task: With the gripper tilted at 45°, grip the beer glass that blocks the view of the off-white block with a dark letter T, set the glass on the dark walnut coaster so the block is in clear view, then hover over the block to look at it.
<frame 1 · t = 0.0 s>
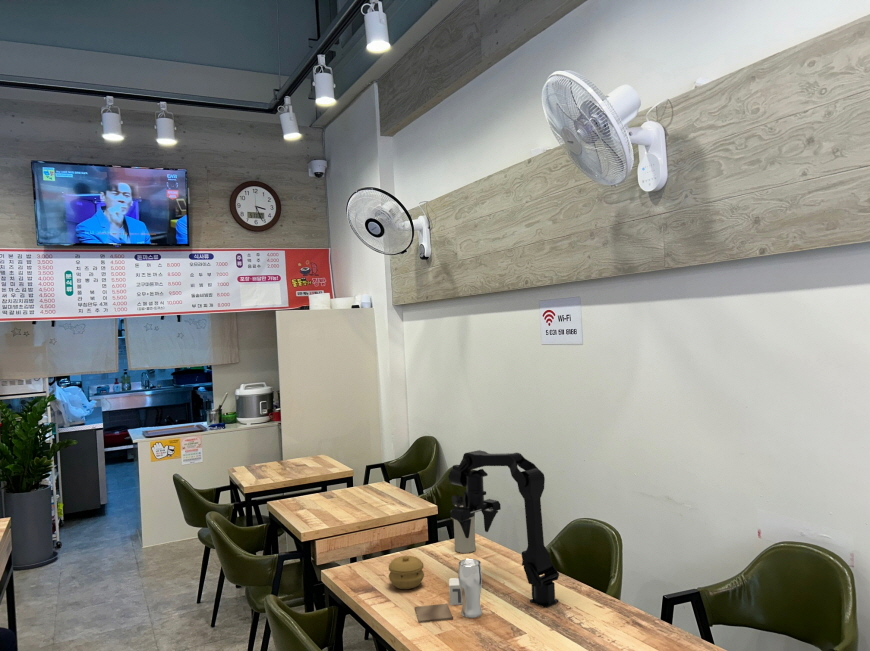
hand: (476, 534, 219), 15 cm above the table, tool pointing down, fingers open, 9 cm apart
beer glass: (471, 614, 191), on the table
coaster: (433, 613, 192), on the table
letter block: (459, 601, 201), on the table
pot: (406, 586, 215), on the table
travel mug: (465, 550, 248), on the table
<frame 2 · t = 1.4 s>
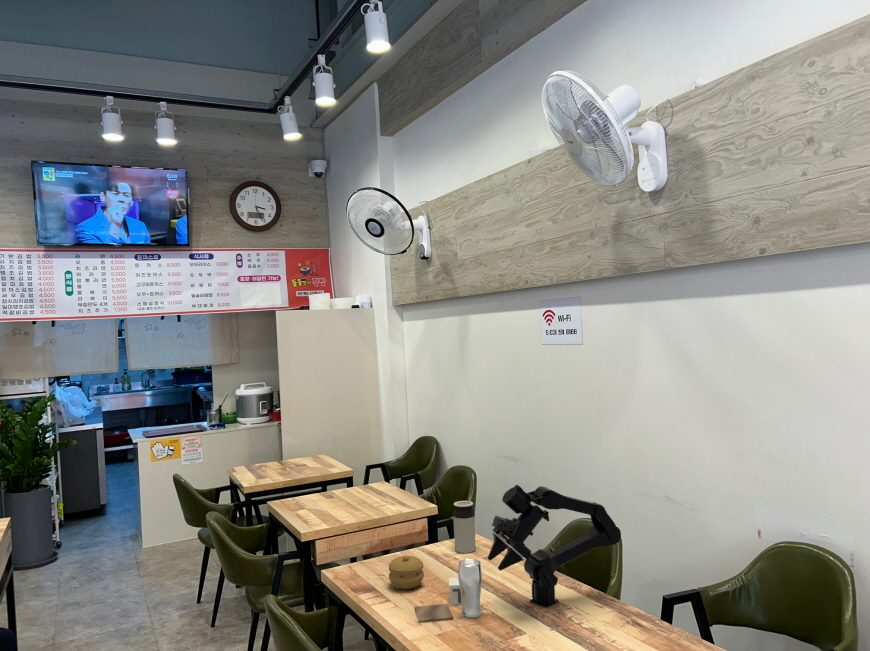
hand: (493, 564, 193), 13 cm above the table, tool tilted 45°, fingers open, 9 cm apart
nothing on the table moved.
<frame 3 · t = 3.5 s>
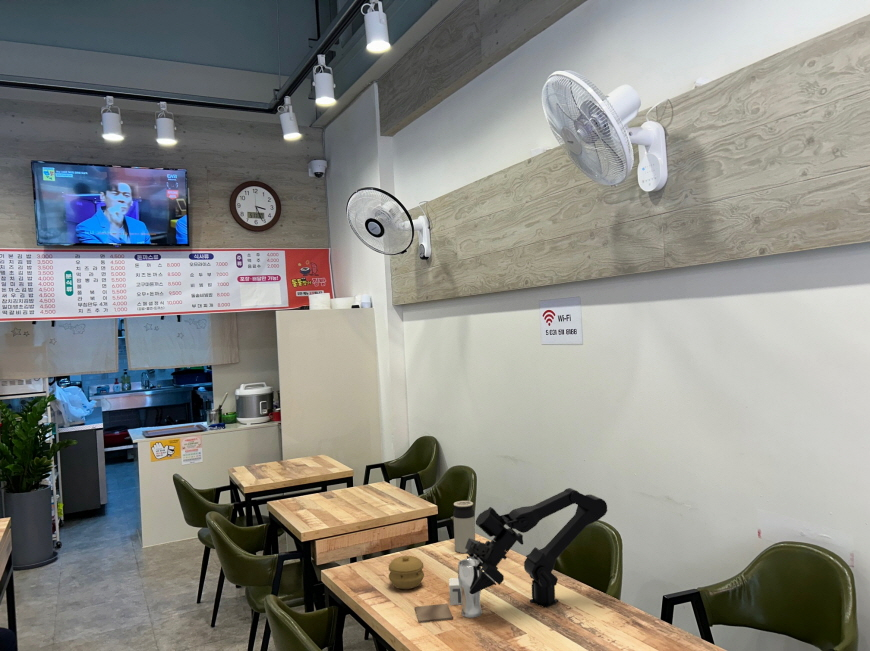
hand: (466, 588, 191), 8 cm above the table, tool tilted 45°, fingers open, 8 cm apart
nothing on the table moved.
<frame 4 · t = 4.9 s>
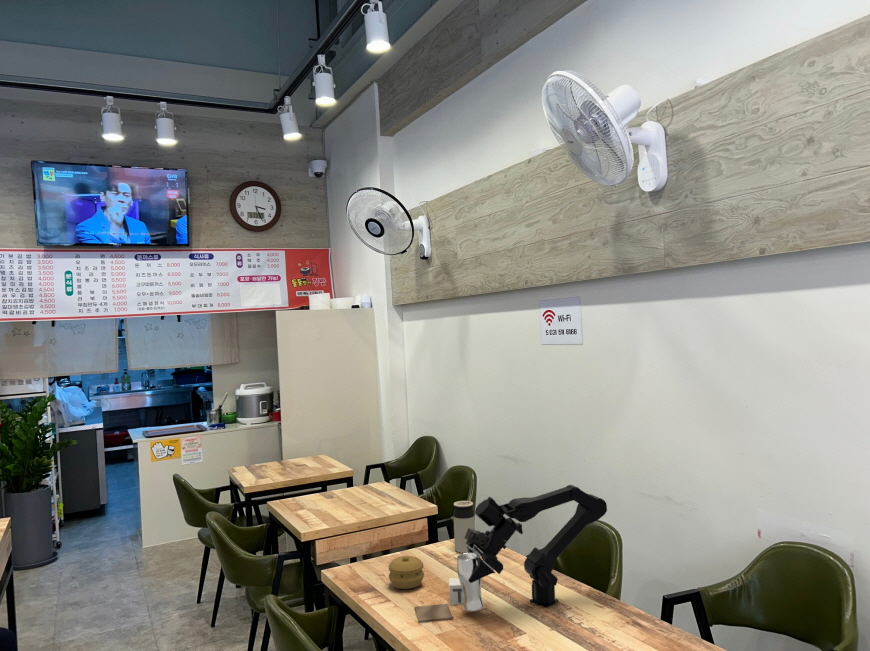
hand: (465, 577, 191), 11 cm above the table, tool tilted 45°, fingers closed on beer glass, 7 cm apart
beer glass: (473, 608, 191), point 2 cm above the table, touching gripper
everything else where it was.
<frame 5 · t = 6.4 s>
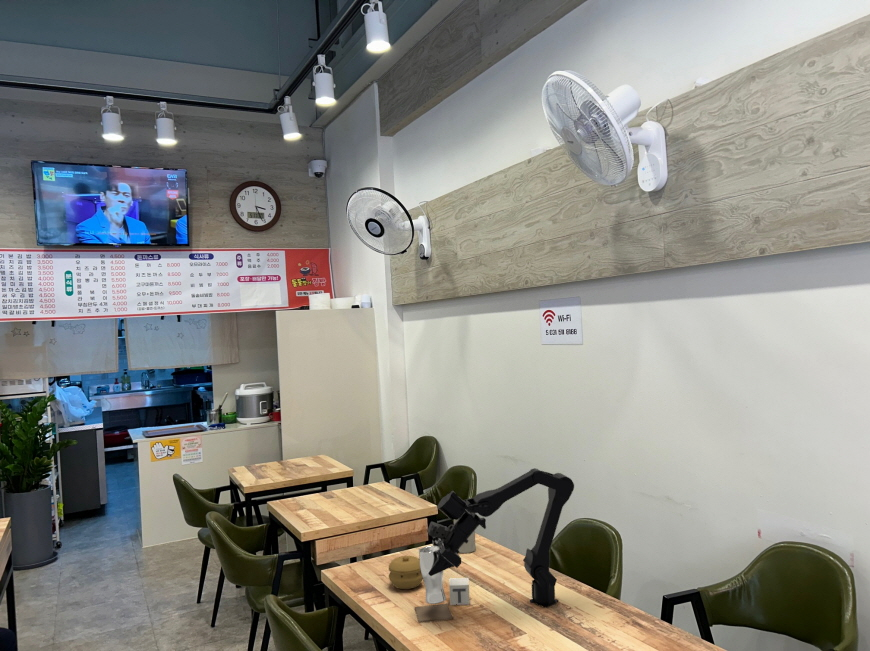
hand: (427, 570, 192), 13 cm above the table, tool tilted 45°, fingers closed on beer glass, 7 cm apart
beer glass: (435, 600, 192), point 4 cm above the table, touching gripper
everything else where it was.
when the fingers open (10 cm above the table, at t = 7.6 s): beer glass stays where it is, resting on coaster.
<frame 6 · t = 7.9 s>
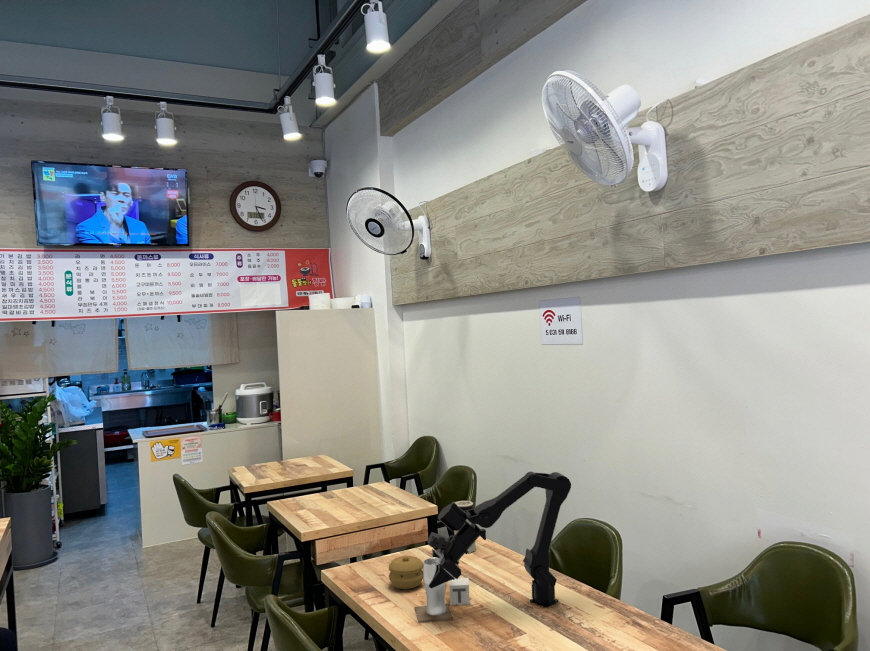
hand: (427, 581, 192), 10 cm above the table, tool tilted 45°, fingers open, 9 cm apart
beer glass: (436, 612, 192), resting on coaster
everything else where it was.
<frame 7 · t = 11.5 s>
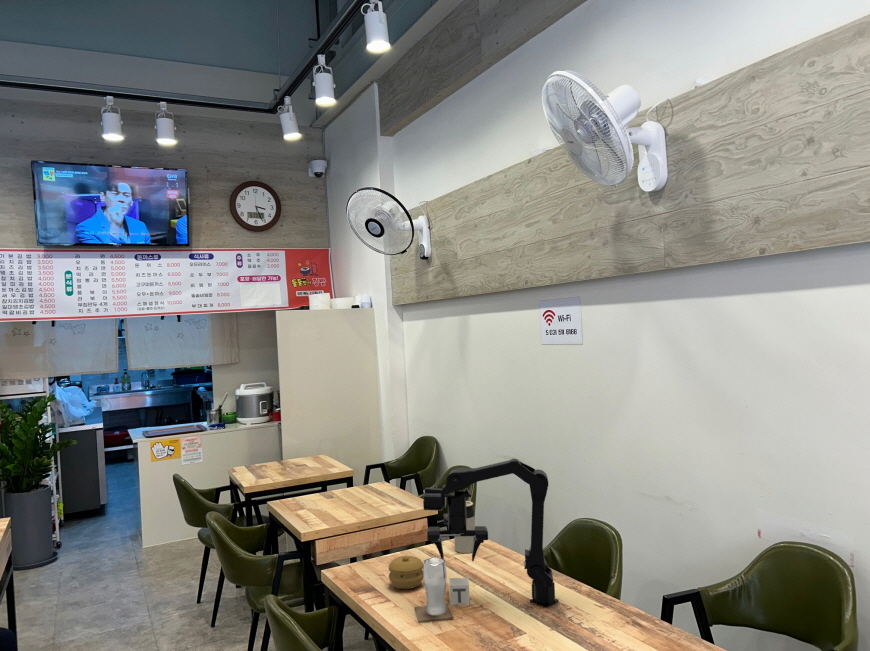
hand: (457, 561, 201), 12 cm above the table, tool pointing down, fingers open, 9 cm apart
nothing on the table moved.
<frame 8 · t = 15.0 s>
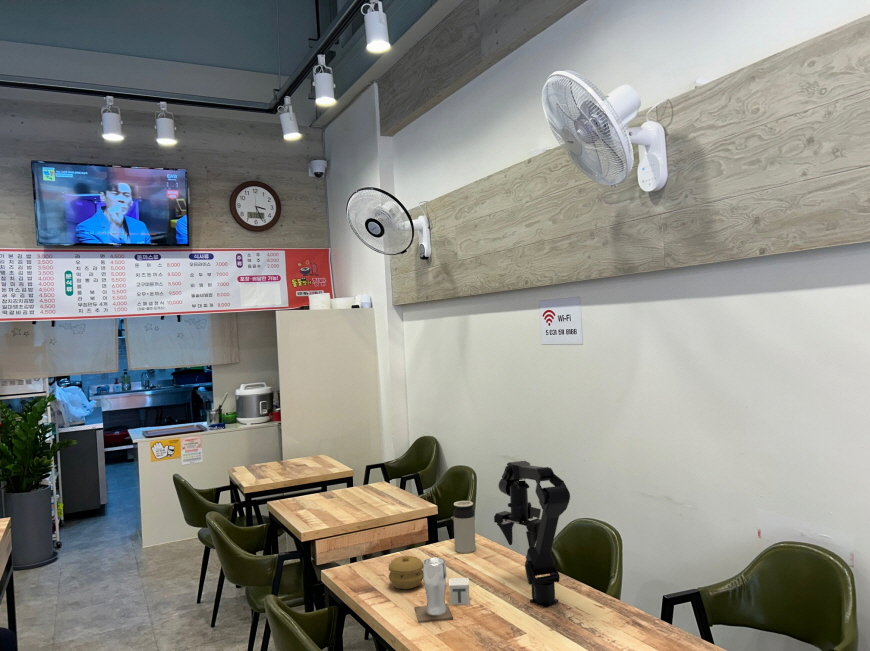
hand: (521, 547, 212), 12 cm above the table, tool pointing down, fingers open, 9 cm apart
nothing on the table moved.
at the end: beer glass 0.9 cm off-centre on the coaster, point 0.4 cm above the coaster's base; beer glass tilted 0°; letter block moved 0.1 cm from its start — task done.
